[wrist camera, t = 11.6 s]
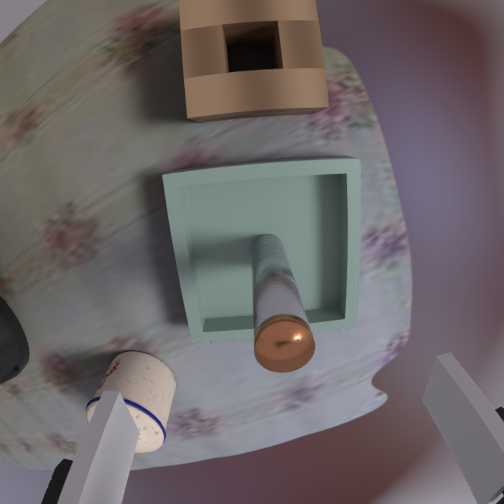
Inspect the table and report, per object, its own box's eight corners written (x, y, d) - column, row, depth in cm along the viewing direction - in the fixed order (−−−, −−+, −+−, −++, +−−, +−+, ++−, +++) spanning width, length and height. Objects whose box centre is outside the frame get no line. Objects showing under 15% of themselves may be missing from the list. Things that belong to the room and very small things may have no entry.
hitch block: (199, 123, 26) (187, 118, 20) (191, 23, 23) (178, -2, 17) (312, 114, 26) (328, 107, 20) (301, 15, 23) (313, -11, 17)
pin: (252, 266, 30) (256, 374, 16) (249, 235, 29) (251, 327, 15) (284, 263, 30) (314, 368, 16) (282, 232, 29) (315, 321, 14)
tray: (197, 323, 33) (192, 342, 30) (172, 170, 28) (162, 174, 24) (346, 310, 33) (355, 327, 29) (347, 156, 27) (359, 158, 24)
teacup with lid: (110, 338, 34) (71, 406, 23) (183, 360, 35) (164, 438, 24) (109, 401, 38) (83, 464, 27) (170, 420, 39) (155, 488, 28)
